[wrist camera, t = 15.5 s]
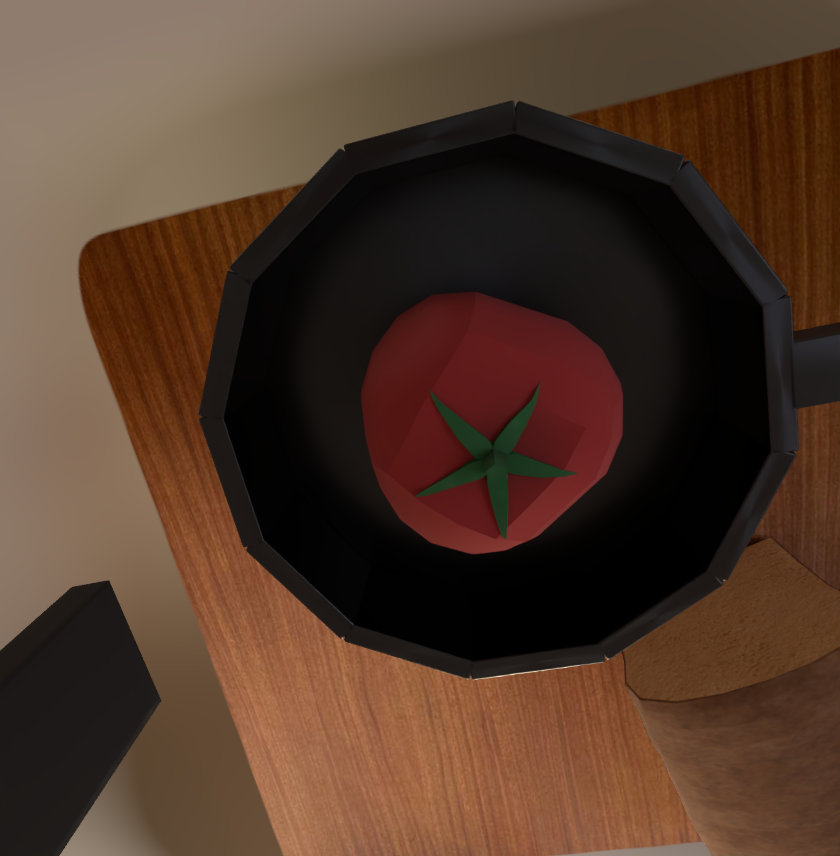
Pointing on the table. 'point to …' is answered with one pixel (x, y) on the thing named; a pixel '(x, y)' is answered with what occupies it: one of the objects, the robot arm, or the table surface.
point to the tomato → (487, 419)
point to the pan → (540, 291)
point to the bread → (750, 707)
